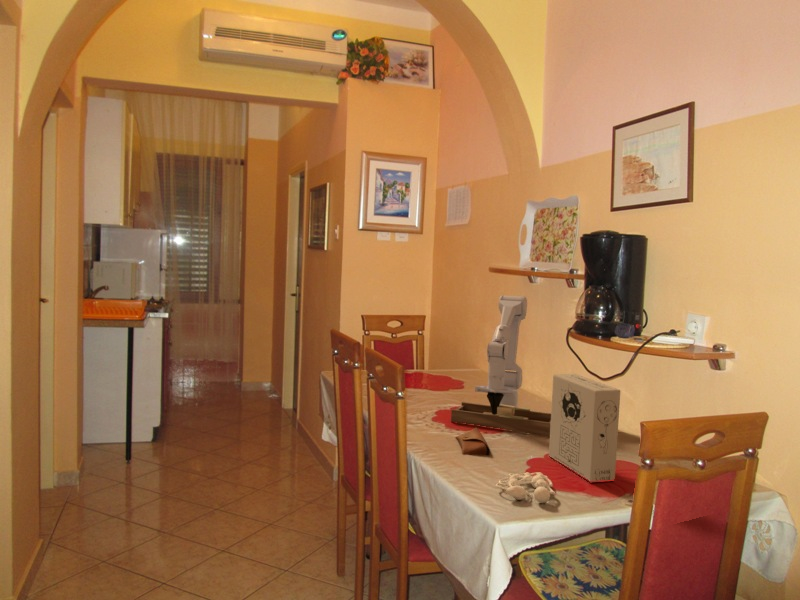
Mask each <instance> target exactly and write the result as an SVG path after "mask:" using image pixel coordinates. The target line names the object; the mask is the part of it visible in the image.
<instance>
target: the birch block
mask: <svg viewBox="0 0 800 600" xmlns="http://www.w3.org/2000/svg"><path fill="white" fill-rule="evenodd" d="M514 411H515V406H509V405H502V404H501V405H500V406H498V407H497V415H498V416H499V414H504V415H512V416H514Z"/></svg>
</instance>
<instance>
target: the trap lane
mask: <svg viewBox="0 0 800 600" xmlns="http://www.w3.org/2000/svg"><path fill="white" fill-rule="evenodd" d="M450 415H451V417H450V423H452V422H457V423H456V424H459V423H466V424H474V425H480V426H486V427H493V428H500V429H506V430H505V431H507V430H512V431H511V432H513V431H517V432H516V433H520V432H522V434H527V433H529V434H528V435H534V436H543V437H549V438H550V427H551V413H549V412H541V411H535V410H534V411H533V410H531V408H526V407H525V408H523V407H518V406H517V407H515V411H514V416H512V415H504V414H499V416H498V415H497V414H496V415H494V414H492V409H491V405H488V404H482V403H481V404H480V403H472V402H466V401H465V402H464V401H462V402H461V405H460V406H458V407H457V408H456V409H451V414H450ZM486 427H485V428H486ZM493 428H492V429H493ZM500 429H499V430H500Z"/></svg>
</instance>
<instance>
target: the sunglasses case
mask: <svg viewBox="0 0 800 600" xmlns="http://www.w3.org/2000/svg"><path fill="white" fill-rule="evenodd" d="M480 431H481V430H479V428H478V427H474V428H472V429H471V430H469V431H467V432H464V433H462V434H460V435H457V436H455V439H456V441H457V442H458V444H459V447H460V449H461V454H462V455H463V456H467V455H468V456H489V455H490V454H491V449H490V447H489V445H488V442H487V441H486V439H485V437H484V436H483V434H482V433H481V432H480Z"/></svg>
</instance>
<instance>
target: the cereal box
mask: <svg viewBox="0 0 800 600" xmlns="http://www.w3.org/2000/svg"><path fill="white" fill-rule="evenodd" d="M551 394H552V395H551V410H550V411H551V413H550V414H551V427H550V436H549V445H548V446H549V449H548V457H549V456H550V457H552V458H554V459H555V460H557V461H559V462H560V463H562V464H564V465H565V466H567V467H569V468H570V469H572V470H574V471H575V472H577V473H578V474H580V475H581V476H583V477H585V478H586V479H588V480H589V481H600V480H612V479H615V478H616V467H617V465H616V464H617V451H618V437H619V436H618V434H619V422H620V421H619V417H620V403H621V402H620V401H621V390H620V389H618V388H616V387H613V386H609V385H608V384H607V385H606V384H605V383H602V382H599V381H596V380H593V379H591V378H587V377H584V376H582V375H579V374H577V373H560V374H559V373H556V374H555V373H554V374H553V376H552V393H551ZM550 457H549V458H550ZM615 480H616V479H615Z"/></svg>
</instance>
